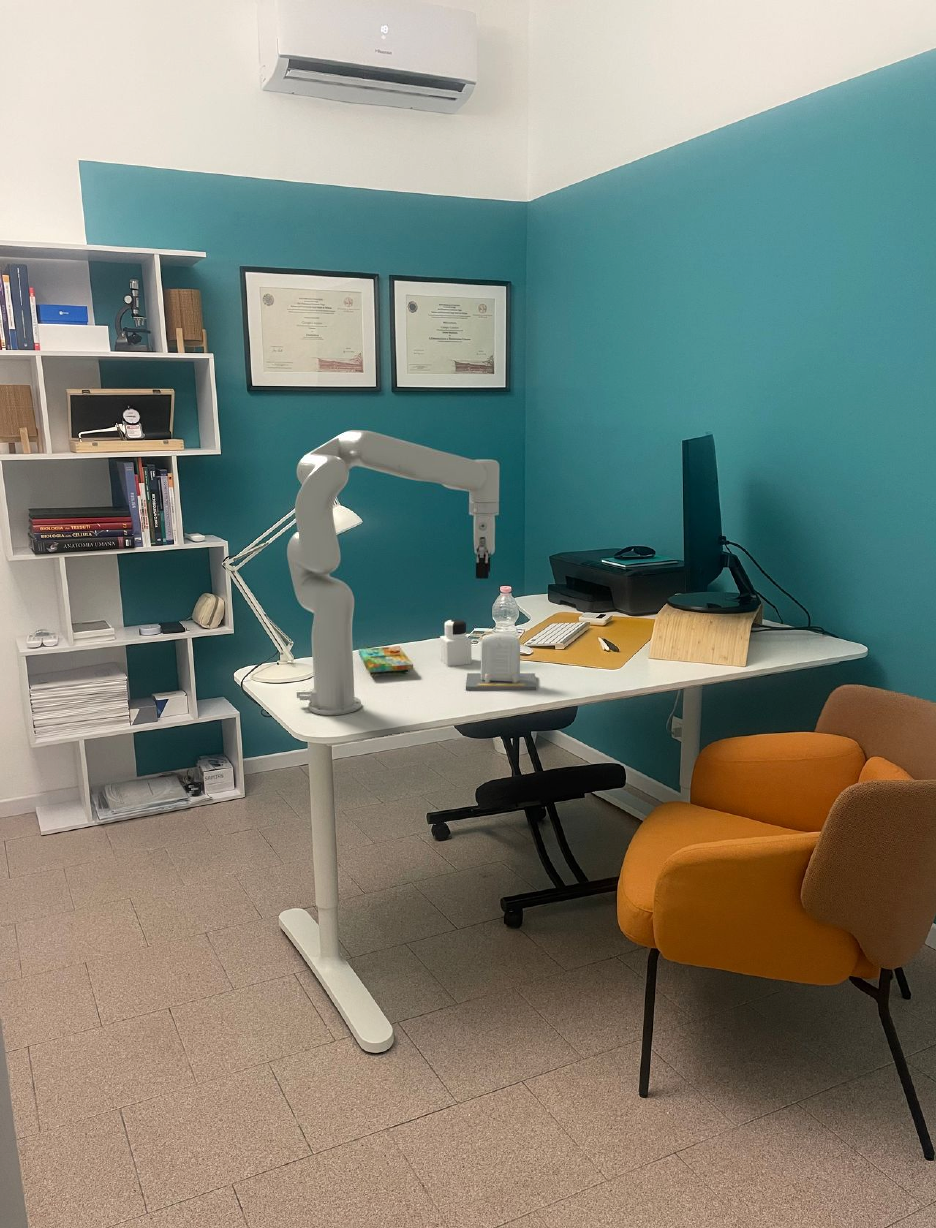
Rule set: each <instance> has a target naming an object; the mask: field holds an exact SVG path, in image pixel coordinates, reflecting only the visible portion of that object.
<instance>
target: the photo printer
mask: <svg viewBox="0 0 936 1228" xmlns="http://www.w3.org/2000/svg"><path fill="white" fill-rule="evenodd" d="M480 673H481V679H482V680H485V674H490V680H492V681H510V682H512V674H517V682H518V681H519V680H520V673H521V641H520V638H519V637H518V636H516V635H513V634H509V633H502V632H501V633H499V632H498V633H490V634H489V633H488V634H486V635H483V636H482V639H481V642H480Z"/></svg>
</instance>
